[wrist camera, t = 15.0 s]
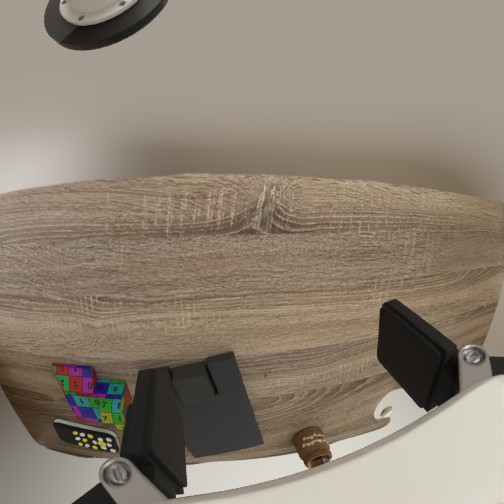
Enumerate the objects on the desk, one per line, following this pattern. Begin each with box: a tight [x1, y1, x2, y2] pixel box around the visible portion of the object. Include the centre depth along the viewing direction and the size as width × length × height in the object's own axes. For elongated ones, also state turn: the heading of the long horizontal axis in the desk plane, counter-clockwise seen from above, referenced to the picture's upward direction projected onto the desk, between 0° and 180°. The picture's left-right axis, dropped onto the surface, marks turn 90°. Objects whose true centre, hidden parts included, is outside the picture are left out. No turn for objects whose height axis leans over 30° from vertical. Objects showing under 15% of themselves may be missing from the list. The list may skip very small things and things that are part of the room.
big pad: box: [154, 351, 264, 458], centre depth 39 cm, size 22×13×2 cm, turn 12°
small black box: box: [172, 361, 215, 406], centre depth 36 cm, size 5×4×3 cm
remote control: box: [53, 419, 120, 452], centre depth 36 cm, size 6×13×2 cm, turn 83°
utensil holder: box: [294, 427, 332, 469], centre depth 40 cm, size 6×6×12 cm
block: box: [51, 363, 133, 430], centre depth 32 cm, size 12×8×7 cm
